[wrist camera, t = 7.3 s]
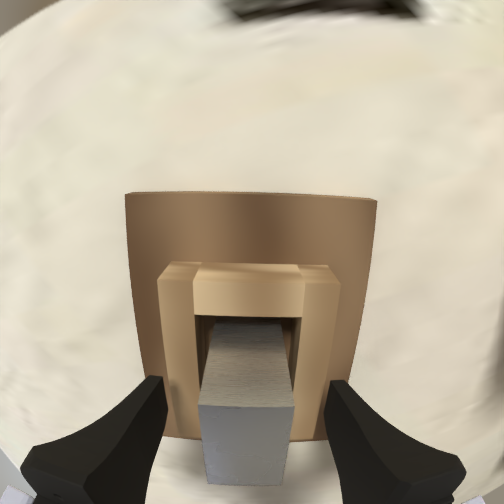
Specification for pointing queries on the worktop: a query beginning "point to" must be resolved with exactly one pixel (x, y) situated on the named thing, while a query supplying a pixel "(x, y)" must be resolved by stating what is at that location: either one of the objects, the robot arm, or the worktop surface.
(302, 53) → the worktop surface
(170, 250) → the slot block
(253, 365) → the brushed grey block
